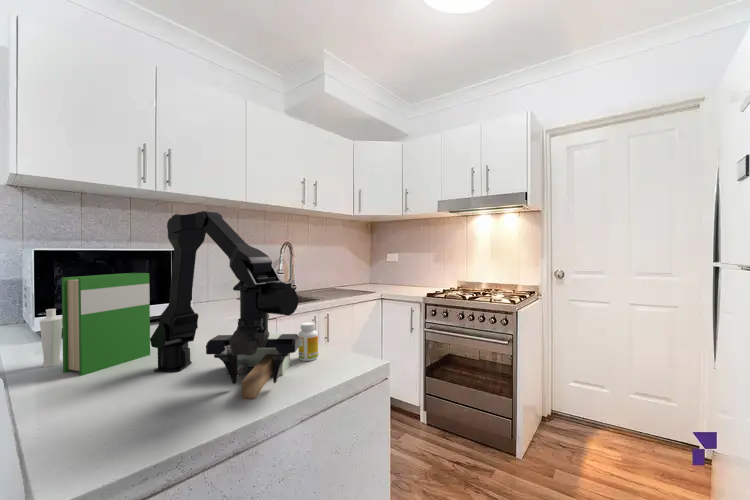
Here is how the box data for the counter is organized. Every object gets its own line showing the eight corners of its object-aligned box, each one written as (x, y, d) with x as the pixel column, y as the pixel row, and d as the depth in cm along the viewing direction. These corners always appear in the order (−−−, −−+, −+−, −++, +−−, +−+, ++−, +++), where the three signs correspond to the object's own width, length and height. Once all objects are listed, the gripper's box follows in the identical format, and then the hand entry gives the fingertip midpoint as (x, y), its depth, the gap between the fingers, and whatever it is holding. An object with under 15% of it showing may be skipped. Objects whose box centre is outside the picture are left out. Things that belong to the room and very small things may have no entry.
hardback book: (81, 375, 85) (80, 278, 85) (63, 372, 88) (61, 277, 88) (150, 354, 102) (149, 273, 102) (132, 352, 104) (131, 272, 104)
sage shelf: (215, 376, 83) (215, 343, 83) (229, 365, 91) (228, 335, 91) (282, 375, 84) (282, 342, 84) (290, 364, 92) (289, 334, 92)
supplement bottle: (320, 355, 99) (320, 321, 99) (315, 361, 94) (314, 325, 94) (302, 355, 100) (301, 321, 100) (295, 361, 94) (295, 325, 94)
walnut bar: (242, 400, 71) (241, 381, 71) (266, 369, 89) (265, 354, 89) (254, 400, 71) (254, 380, 71) (275, 369, 89) (275, 354, 89)
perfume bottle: (35, 366, 92) (34, 310, 92) (55, 361, 96) (55, 307, 96) (45, 368, 91) (44, 311, 91) (65, 363, 95) (64, 308, 95)
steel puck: (223, 376, 84) (222, 366, 84) (231, 369, 89) (231, 359, 89) (243, 376, 84) (243, 365, 84) (250, 369, 89) (250, 359, 89)
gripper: (192, 319, 67) (193, 400, 67) (288, 318, 68) (289, 398, 68) (217, 309, 79) (218, 378, 79) (299, 308, 79) (300, 377, 79)
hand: (255, 383), depth 76 cm, fingers open, 8 cm apart
